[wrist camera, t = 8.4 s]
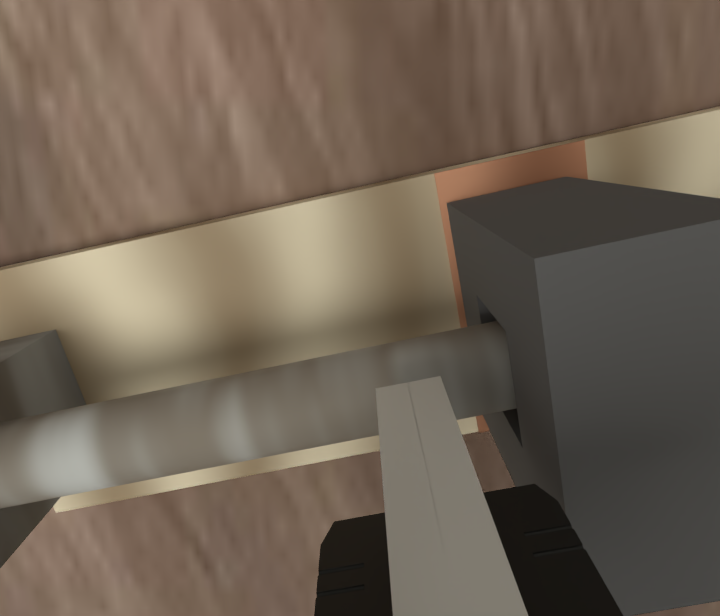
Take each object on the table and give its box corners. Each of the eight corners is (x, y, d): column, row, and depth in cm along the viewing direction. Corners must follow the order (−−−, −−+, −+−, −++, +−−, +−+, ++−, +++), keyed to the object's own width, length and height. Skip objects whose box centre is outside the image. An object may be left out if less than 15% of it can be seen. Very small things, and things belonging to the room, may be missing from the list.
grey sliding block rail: (75, 489, 23) (-67, 660, 15) (-22, 272, 20) (-253, 348, 13) (777, 353, 21) (1013, 469, 14) (781, 92, 18) (1082, 53, 11)
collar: (481, 412, 20) (579, 624, 11) (446, 202, 18) (534, 258, 9) (588, 392, 20) (774, 591, 11) (566, 176, 17) (779, 206, 9)
